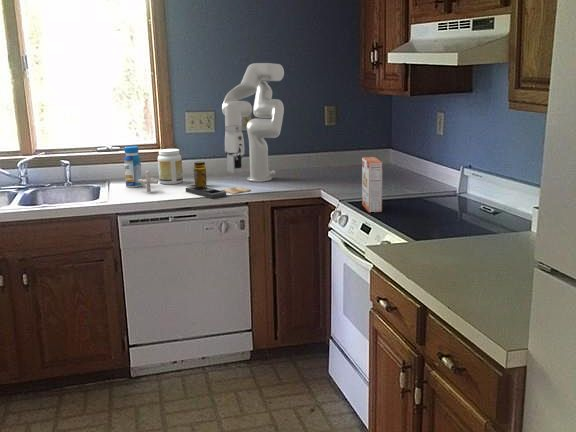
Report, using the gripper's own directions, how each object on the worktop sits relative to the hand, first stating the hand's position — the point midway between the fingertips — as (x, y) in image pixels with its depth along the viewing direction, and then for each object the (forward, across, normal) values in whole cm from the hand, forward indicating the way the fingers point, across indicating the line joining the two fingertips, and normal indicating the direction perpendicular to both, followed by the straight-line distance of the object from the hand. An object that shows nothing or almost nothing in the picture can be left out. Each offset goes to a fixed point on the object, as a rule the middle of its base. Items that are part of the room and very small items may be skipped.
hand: (234, 167), depth 311 cm
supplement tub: (+12, +42, +10) cm, 45 cm away
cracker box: (+12, -71, -17) cm, 74 cm away
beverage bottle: (+12, +48, +28) cm, 57 cm away
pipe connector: (+12, +30, +30) cm, 44 cm away
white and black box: (+2, 0, 0) cm, 2 cm away
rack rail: (+12, +5, +14) cm, 19 cm away
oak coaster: (+12, 0, 0) cm, 12 cm away
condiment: (+12, +24, +5) cm, 27 cm away
